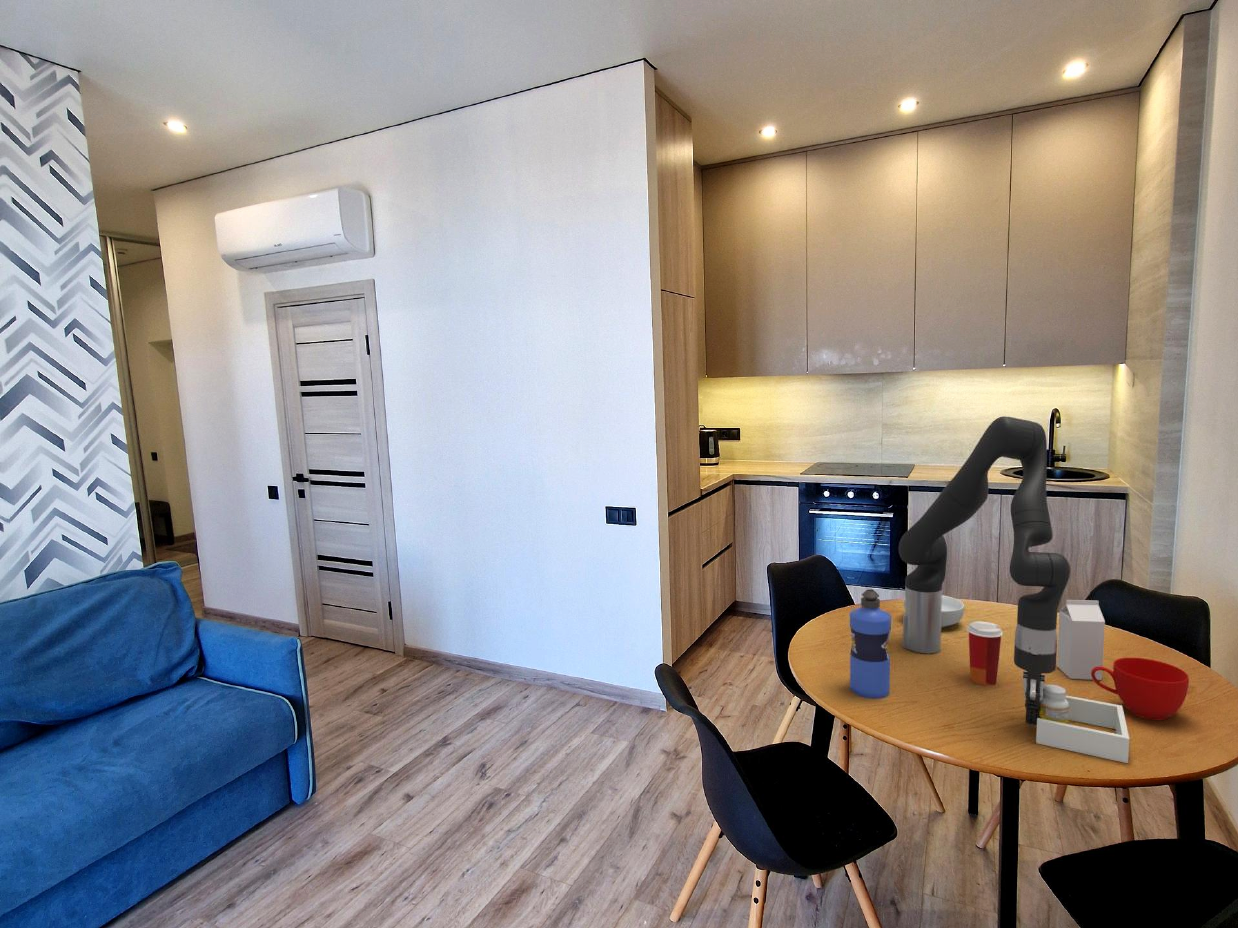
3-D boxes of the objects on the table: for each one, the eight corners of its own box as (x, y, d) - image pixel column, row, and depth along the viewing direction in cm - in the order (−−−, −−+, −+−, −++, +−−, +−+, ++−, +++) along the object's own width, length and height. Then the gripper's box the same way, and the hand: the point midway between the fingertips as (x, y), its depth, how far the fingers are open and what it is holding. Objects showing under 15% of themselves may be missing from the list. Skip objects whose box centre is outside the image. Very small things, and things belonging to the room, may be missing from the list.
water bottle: (848, 695, 159) (848, 594, 156) (850, 679, 168) (850, 583, 165) (890, 701, 156) (891, 598, 153) (890, 683, 164) (891, 586, 161)
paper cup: (997, 675, 167) (999, 621, 165) (1004, 689, 159) (1006, 633, 158) (962, 672, 169) (964, 619, 168) (967, 685, 162) (969, 630, 160)
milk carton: (1102, 680, 162) (1106, 605, 160) (1069, 679, 163) (1072, 604, 161) (1087, 668, 169) (1091, 596, 167) (1056, 666, 170) (1059, 595, 168)
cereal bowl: (960, 637, 191) (960, 614, 191) (898, 627, 200) (899, 605, 200) (966, 619, 206) (967, 597, 205) (908, 610, 215) (909, 589, 214)
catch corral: (1036, 742, 136) (1037, 719, 135) (1037, 711, 149) (1038, 690, 148) (1127, 763, 128) (1129, 738, 127) (1120, 728, 140) (1122, 705, 140)
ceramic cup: (1087, 690, 157) (1089, 650, 156) (1179, 706, 149) (1182, 663, 147) (1092, 715, 146) (1094, 671, 145) (1192, 733, 138) (1195, 687, 136)
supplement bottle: (1066, 741, 136) (1069, 696, 135) (1036, 733, 139) (1038, 690, 138) (1068, 729, 141) (1070, 686, 139) (1038, 722, 144) (1040, 680, 143)
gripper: (1016, 631, 147) (1012, 705, 149) (1013, 653, 136) (1009, 732, 138) (1056, 638, 143) (1052, 714, 145) (1056, 660, 132) (1052, 742, 134)
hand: (1031, 722), depth 142 cm, fingers closed
